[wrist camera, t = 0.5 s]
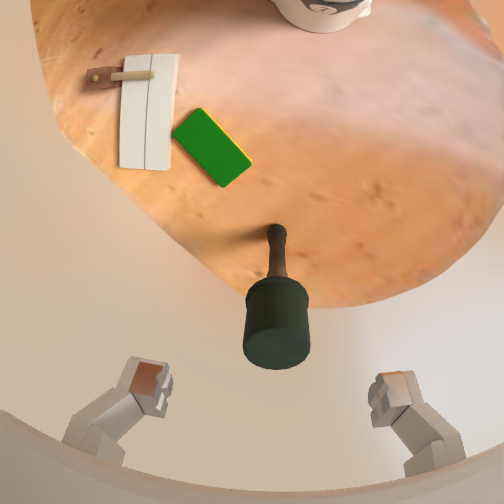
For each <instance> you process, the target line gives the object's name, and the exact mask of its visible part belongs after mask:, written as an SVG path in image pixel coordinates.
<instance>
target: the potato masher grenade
mask: <svg viewBox="0 0 504 504" xmlns="http://www.w3.org/2000/svg"><path fill="white" fill-rule="evenodd" d="M267 234H268V243H269V246H270V253H269V271H268V273H267V278H264V279H262V280H260V281H258V282H256V283H255V284H254V285H253V286H252V287H251V288H250V289H249V290H248V293H247V296H246V300H245V301H246V308H247V314H246V322H245V330H244V338H243V351H244V355H245V356H246V357H247V359H248V360H249V361H250V362H252V363H253V364H255V365H256V366H259V367H262V368H265V369H272V370H281V369H288V368H291V367H294V366H297V365H298V364H300V363H301V362H303V361H304V360H305V359H306V357H307V356H308V354H309V353H310V334H309V323H308V313H307V309H308V301H309V297H308V294H307V292H306V290H305V288H304V287H303V286H302V285H301V284H300V283H299V282H297V281H295V280H293V279H290V278H288V275H287V272H286V265H285V244H286V236H287V232H286V229H285V228H284V227H283V226H282V225H279V224H275V225H273V226H271V227H270V228H269V230H268V233H267Z"/></svg>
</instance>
